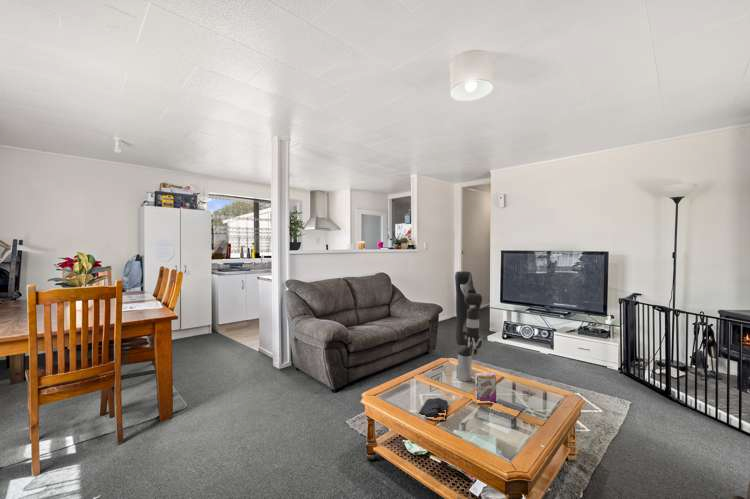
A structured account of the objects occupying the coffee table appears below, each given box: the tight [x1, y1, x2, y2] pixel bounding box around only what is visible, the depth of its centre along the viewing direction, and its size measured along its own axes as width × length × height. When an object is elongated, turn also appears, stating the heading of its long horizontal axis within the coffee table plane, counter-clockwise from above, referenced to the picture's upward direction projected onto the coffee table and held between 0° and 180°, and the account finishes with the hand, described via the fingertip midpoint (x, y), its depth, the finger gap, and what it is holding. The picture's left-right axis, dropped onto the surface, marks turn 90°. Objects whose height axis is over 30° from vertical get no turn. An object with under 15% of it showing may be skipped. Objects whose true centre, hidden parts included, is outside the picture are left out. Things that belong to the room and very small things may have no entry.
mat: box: [485, 398, 525, 421], centre depth 186 cm, size 15×18×1 cm
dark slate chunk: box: [417, 397, 448, 418], centre depth 184 cm, size 15×22×5 cm
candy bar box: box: [474, 372, 497, 403], centre depth 194 cm, size 11×5×16 cm, turn 84°
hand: (472, 353), depth 199 cm, fingers open, 3 cm apart
